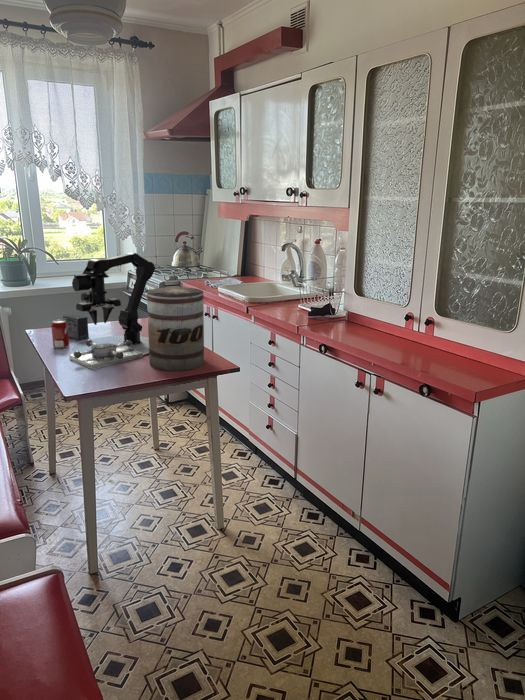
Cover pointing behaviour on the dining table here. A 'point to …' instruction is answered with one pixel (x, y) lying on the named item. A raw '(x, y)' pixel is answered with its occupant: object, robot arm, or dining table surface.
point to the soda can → (60, 334)
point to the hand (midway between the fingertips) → (100, 323)
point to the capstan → (103, 349)
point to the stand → (107, 358)
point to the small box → (77, 326)
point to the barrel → (175, 328)
